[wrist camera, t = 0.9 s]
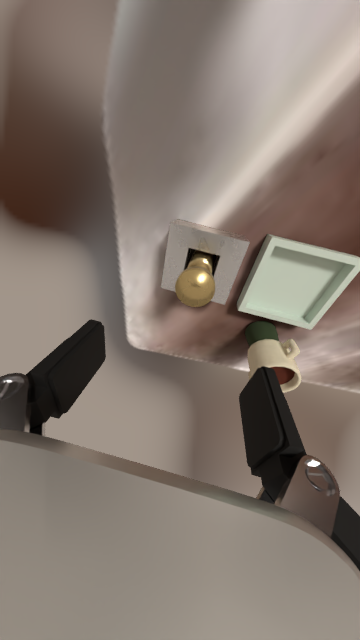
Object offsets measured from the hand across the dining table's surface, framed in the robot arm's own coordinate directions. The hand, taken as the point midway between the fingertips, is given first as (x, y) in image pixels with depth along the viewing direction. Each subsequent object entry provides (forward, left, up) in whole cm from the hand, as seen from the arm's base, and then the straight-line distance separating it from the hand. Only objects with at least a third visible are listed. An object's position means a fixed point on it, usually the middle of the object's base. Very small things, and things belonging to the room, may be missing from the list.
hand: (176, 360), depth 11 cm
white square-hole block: (0, 0, -26) cm, 26 cm away
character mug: (+12, +16, -26) cm, 33 cm away
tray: (+1, +16, -26) cm, 30 cm away
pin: (0, 0, -26) cm, 26 cm away
